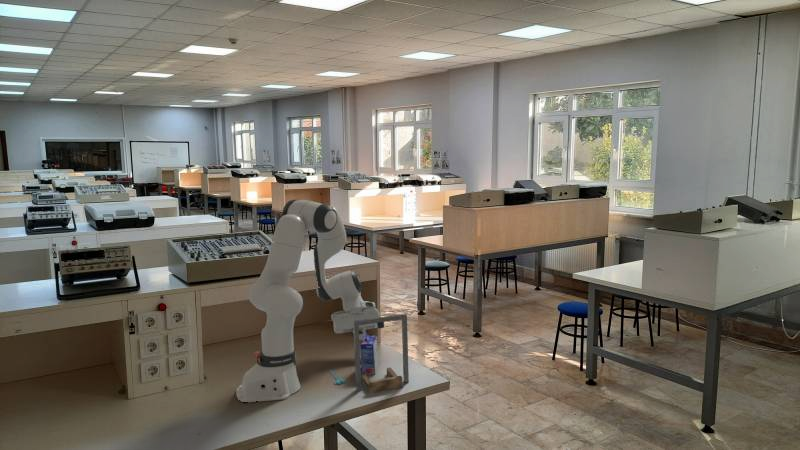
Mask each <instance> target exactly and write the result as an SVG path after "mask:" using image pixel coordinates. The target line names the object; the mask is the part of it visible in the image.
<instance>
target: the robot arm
mask: <svg viewBox="0 0 800 450" xmlns="http://www.w3.org/2000/svg"><path fill="white" fill-rule="evenodd" d="M307 232H314V233H316V236H317V239H318V240H317V244H316V245H315V246H314V248H313V262H314V270H316V273H315V278H316V277H317V280H316V282H317V281H318V286H319V287H320V288H317V289H316V288H315V291H316V295H317V296H318V298H319V300H321V301H324V302H325V303H329V302H331V301H333V300H336V299H339V298H340V299H341V301H342V308H343V310H339V311H334V312H332V314H331V315H330V319H331V321H332V322H333V332H334V333H336V334H338V335H339V334H344V333H351V332H352V333H353V334H354V325H353V321H354V320H362V319H369V318H377V317H382V315H381V313H380V311H379V310H378V309H377V308H376V303H375V302H371V301H365V300H363V298H362V296H361V295H362V293H361V292H362V291H363V286H362V283H361V278H360V275H359V273H357V272H356V271H354V270H346V271H344V272H340V273H337V275H336V274H334V275H335V276H333V275H332V276H333V277H331V278H329V279H326V268H325V265H326V262H327V261H328V260H330V259H331V258H332V257H334V256H335V255H337V254H339V253H340V252H341V251H342V250H343V249H344V247H345V246H346V244H347V240H348V238H347V236H348V235H347V232H346V228H345V225H344V222H343V219H342V217H341V215H340V212H339V211H338V209H337V208H336V207H335V206H333V205H329V204H327V203H320V202H316V201H314V200H307V199H305V200H304V199H299V198H298V199H291V200H289V201H287V202H286V203H285V205H284V206H283V208H282V214H281V217H280V218H279V220H278V223H277V224H276V227H275V229H274V232H273V236H272V239H271V244H270V248H269V253H268V256H267V260H266V263H265V266H264V268H263V270H262V272H261V274H260V276H259V277H258V279H257V281H255V282H254V283H252V285H251V286H250V287H249V290H248V295H247V297H248V300H249V301H250V303H251V304H252V305H253V306H254V307H255V308H256V309H257V310H260V311H262V312H265V313H266V323H265V326H264V327H263V328H262V329H261V333H260V334H261V336H260V337H261V338H260V339H261V352H260V351H258V350H257V351H255V352H254V356H255V358H256V362H257V363H255V365H253V366H252V367H251V368H250V369H249V370H247V371H246V372H245V374H244V375H243V378H242V381H241V382H242V383H241V384H240V385H239V386H238V387H236V392H235V396H237V397H236V399H237V398H238V399H237V400H238V401H239V400H240V401H242V402H248V403H256V401H258V402H268V401H279V400H286V399H288V398H289V397H290V396H291V395H293V394H295V393H296V392H298V391H299V390H300V389H301V383H300V380H299V377H298V373H297V367H296V364H297V355H296V349H295V348H294V347H295V346H294V345H295V344H294V326H295V321H296V319H297V318H296V317H297V316H298V315H299V314H300V313H301V311H302V309H303V306H304V300H303V297H302V295H301V294H300V293H299V292H298V291H297V290H296V289H294V288H293V287H291V286H289V285H288V286H287V284H288V282H289V280H290V278H291V277H292V275H293V274H295V273H296V272H297V271H298V269H299V266H300V261H301V256H302V253H303V248H304V242H305V235H306V233H307ZM325 286H326V287H325ZM376 328H377V323H373V324H366V325H359V331H361V332H362V333H359V341H362V340H363V338H364V334H365V332H366V330H370V329H376ZM377 329H378V328H377ZM240 401H239V402H240ZM242 402H241V403H242ZM258 402H257V403H258Z"/></svg>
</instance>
